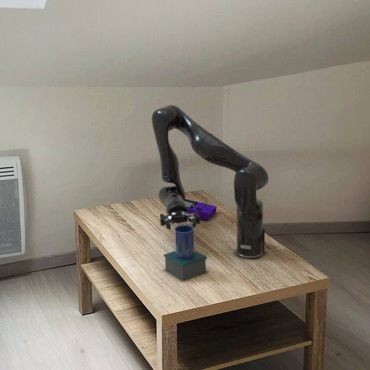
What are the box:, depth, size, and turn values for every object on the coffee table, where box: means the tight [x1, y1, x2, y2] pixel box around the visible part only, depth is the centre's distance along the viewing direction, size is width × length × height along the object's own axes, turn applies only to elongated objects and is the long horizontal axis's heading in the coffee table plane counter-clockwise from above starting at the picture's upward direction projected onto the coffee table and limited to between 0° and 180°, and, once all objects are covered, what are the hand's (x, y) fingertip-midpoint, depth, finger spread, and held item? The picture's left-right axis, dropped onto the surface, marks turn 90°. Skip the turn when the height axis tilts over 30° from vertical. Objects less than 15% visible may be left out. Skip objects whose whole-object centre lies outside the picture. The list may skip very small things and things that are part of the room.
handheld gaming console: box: [184, 198, 218, 221], centre depth 291 cm, size 9×5×15 cm
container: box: [163, 250, 208, 281], centre depth 242 cm, size 11×11×6 cm
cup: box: [174, 224, 196, 260], centre depth 239 cm, size 7×7×10 cm
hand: (181, 226), depth 246 cm, fingers open, 8 cm apart
